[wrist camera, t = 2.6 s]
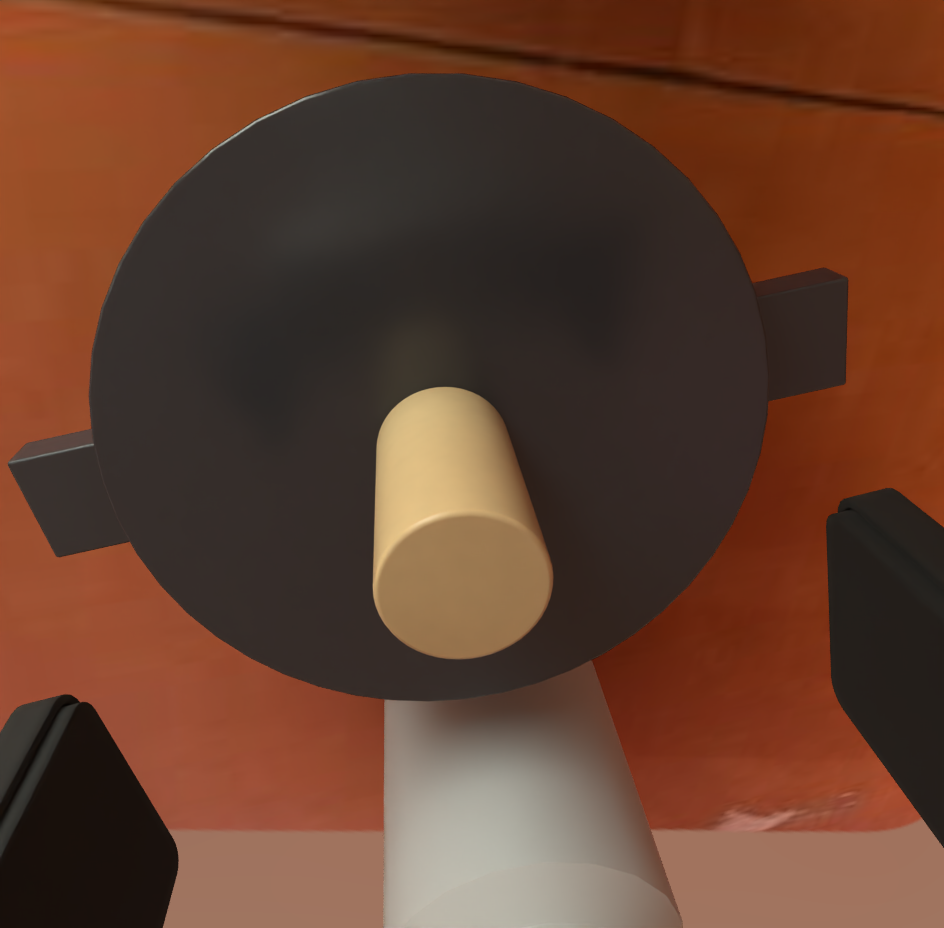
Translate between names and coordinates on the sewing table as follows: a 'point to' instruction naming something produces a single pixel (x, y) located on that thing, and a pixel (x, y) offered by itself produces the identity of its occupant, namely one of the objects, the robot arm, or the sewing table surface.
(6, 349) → the sewing table surface
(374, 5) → the sewing table surface
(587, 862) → the can
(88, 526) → the pot
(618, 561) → the pot lid
